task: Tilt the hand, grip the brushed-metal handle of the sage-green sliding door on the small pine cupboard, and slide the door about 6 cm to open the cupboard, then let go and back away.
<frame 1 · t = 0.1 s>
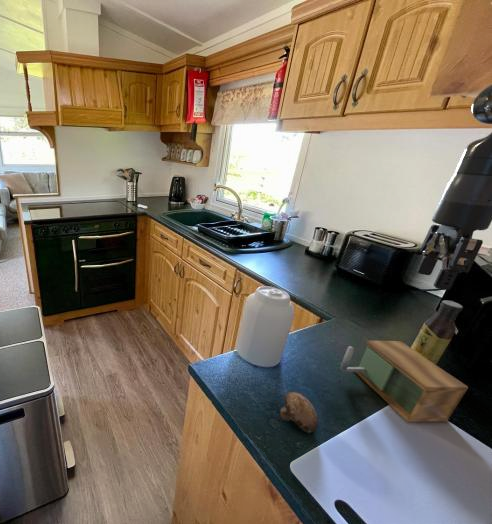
hand: (431, 280, 59), 32 cm above the countertop, tool pointing down, fingers open, 8 cm apart
can: (257, 353, 83), on the countertop
mushroom: (296, 422, 62), on the countertop
cupboard: (395, 393, 72), on the countertop
sauce bottle: (420, 362, 85), on the countertop
door: (363, 367, 73), point 5 cm above the countertop, slide at 0.0 cm
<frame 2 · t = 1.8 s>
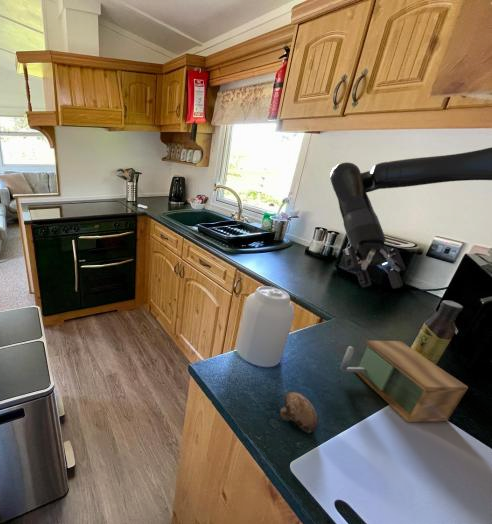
hand: (382, 286, 71), 25 cm above the countertop, tool tilted 45°, fingers open, 8 cm apart
nothing on the countertop moved.
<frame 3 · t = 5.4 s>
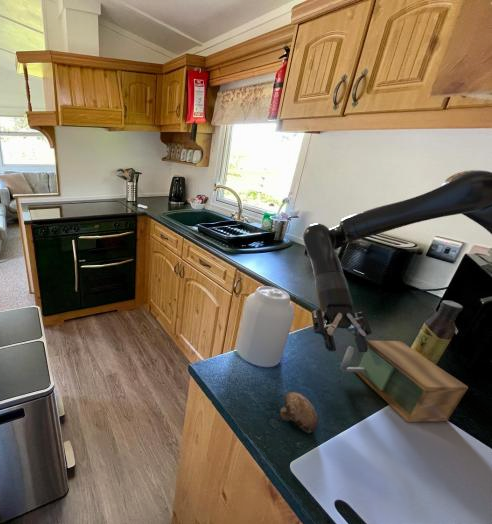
hand: (347, 351, 74), 8 cm above the countertop, tool tilted 45°, fingers open, 8 cm apart
nothing on the countertop moved.
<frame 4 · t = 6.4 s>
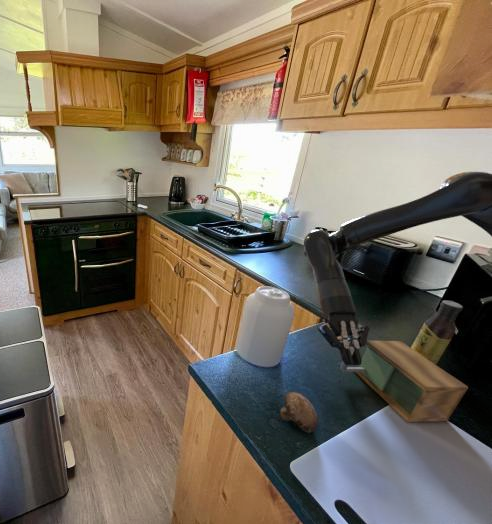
hand: (353, 364, 72), 6 cm above the countertop, tool tilted 45°, fingers closed
door: (363, 367, 73), point 5 cm above the countertop, slide at 0.0 cm, touching gripper
everything else where it was.
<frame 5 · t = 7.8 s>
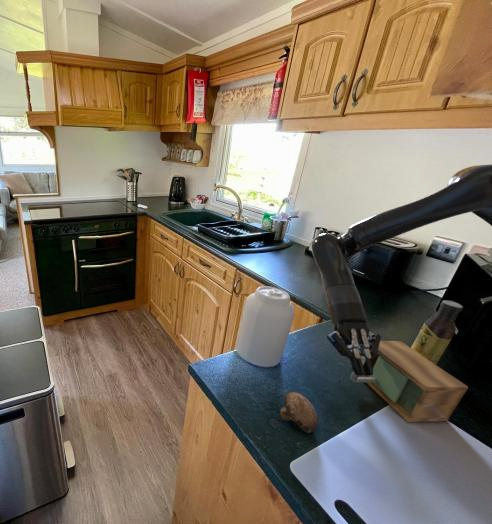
hand: (364, 375, 69), 6 cm above the countertop, tool tilted 45°, fingers closed
door: (374, 378, 69), point 5 cm above the countertop, slide at 3.6 cm, touching gripper
everything else where it was.
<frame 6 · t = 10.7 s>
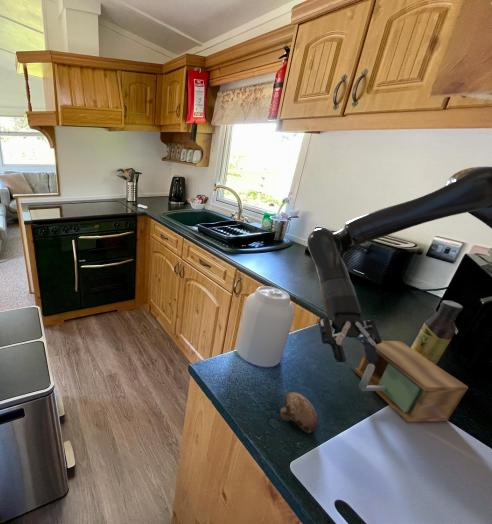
hand: (357, 362, 70), 8 cm above the countertop, tool tilted 45°, fingers open, 8 cm apart
door: (384, 387, 67), point 5 cm above the countertop, slide at 6.3 cm
everything else where it was.
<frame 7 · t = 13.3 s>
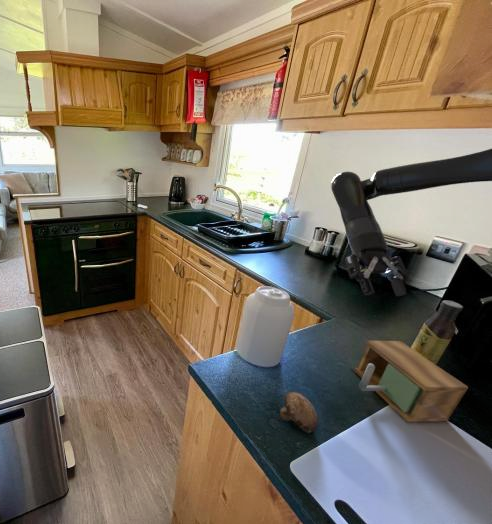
hand: (385, 294, 71), 23 cm above the countertop, tool tilted 45°, fingers open, 8 cm apart
nothing on the countertop moved.
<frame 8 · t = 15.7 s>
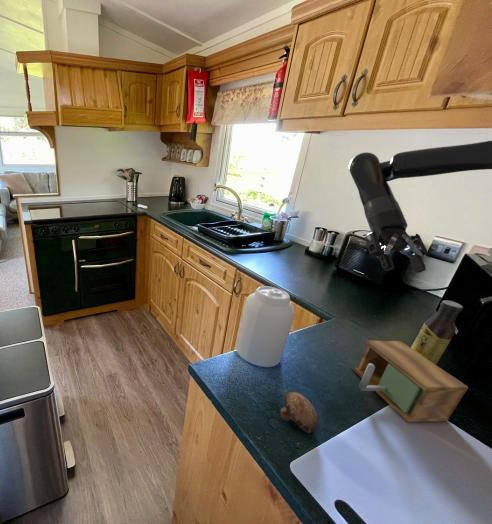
hand: (405, 270, 73), 29 cm above the countertop, tool tilted 45°, fingers open, 8 cm apart
nothing on the countertop moved.
at the end: door slide at 6.3 cm; the gripper is holding nothing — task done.
